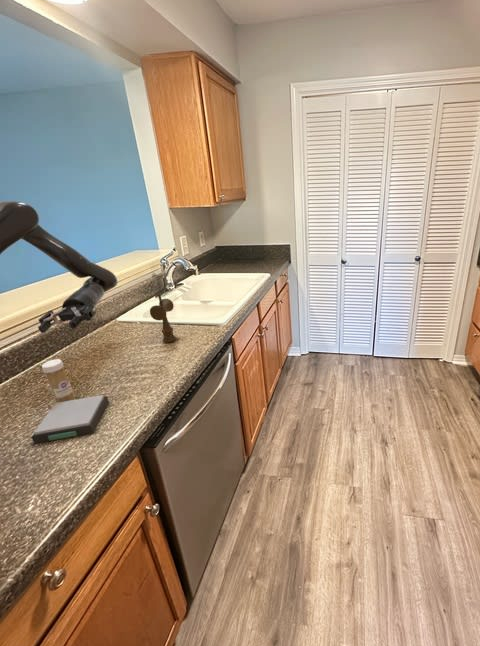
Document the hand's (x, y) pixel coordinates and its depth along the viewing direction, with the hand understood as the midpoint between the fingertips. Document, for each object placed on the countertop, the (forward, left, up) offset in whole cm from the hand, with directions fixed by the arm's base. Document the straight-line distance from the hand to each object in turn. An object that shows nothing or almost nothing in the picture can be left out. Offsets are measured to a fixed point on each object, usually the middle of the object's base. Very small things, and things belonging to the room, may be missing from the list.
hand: (56, 328), depth 93 cm
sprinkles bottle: (0, -9, -20) cm, 22 cm away
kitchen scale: (+6, -19, -20) cm, 28 cm away
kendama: (+24, +25, -20) cm, 41 cm away
